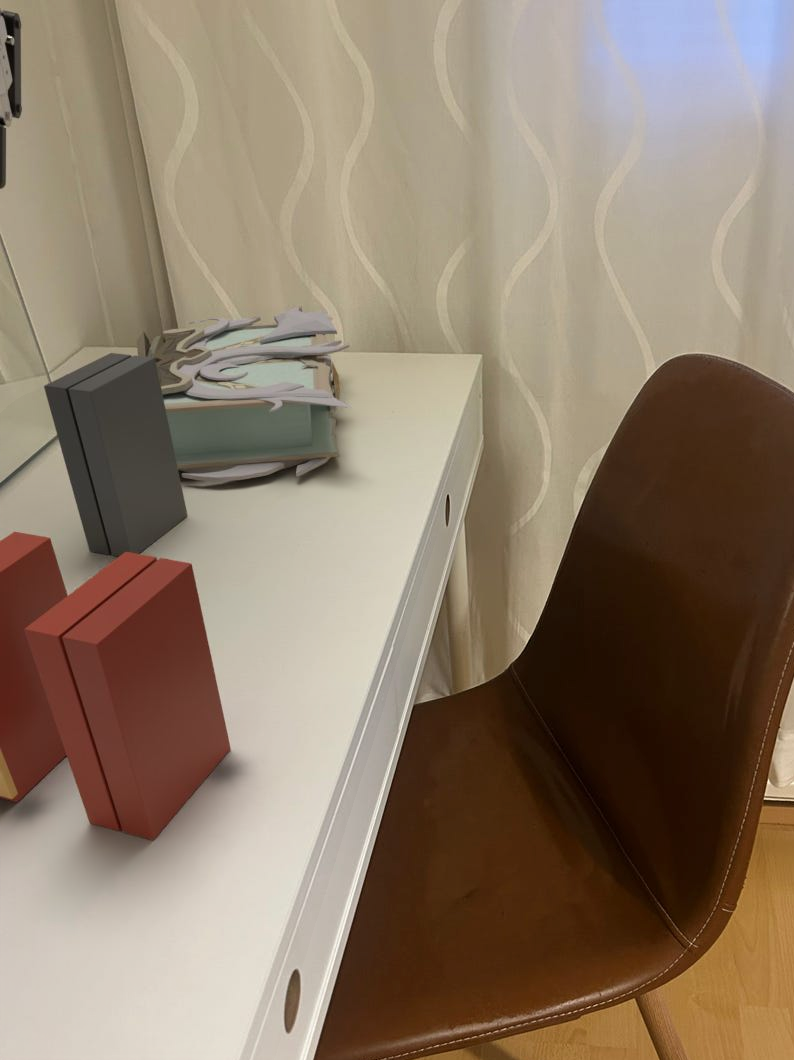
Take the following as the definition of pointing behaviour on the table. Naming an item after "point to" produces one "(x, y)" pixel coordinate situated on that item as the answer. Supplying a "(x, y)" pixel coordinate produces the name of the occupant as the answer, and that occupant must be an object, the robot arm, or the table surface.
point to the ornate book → (249, 394)
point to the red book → (25, 664)
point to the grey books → (118, 452)
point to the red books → (133, 691)
